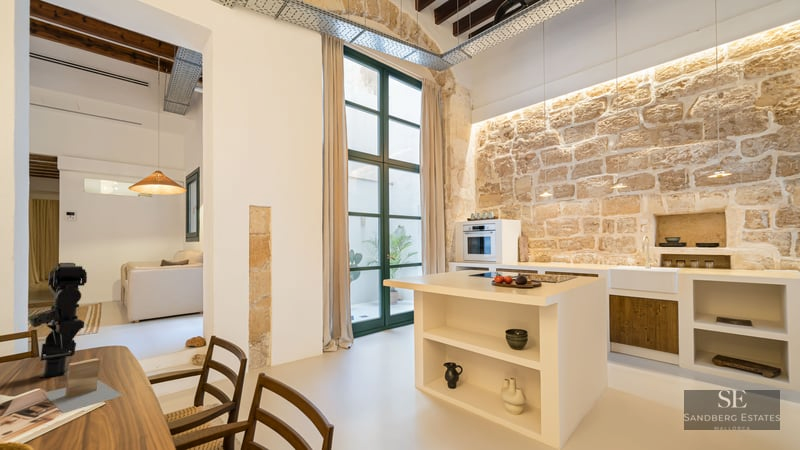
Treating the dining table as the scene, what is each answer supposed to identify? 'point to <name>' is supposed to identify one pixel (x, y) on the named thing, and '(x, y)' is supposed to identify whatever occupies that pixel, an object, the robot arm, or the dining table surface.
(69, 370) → the oak slab
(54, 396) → the rubber mat
